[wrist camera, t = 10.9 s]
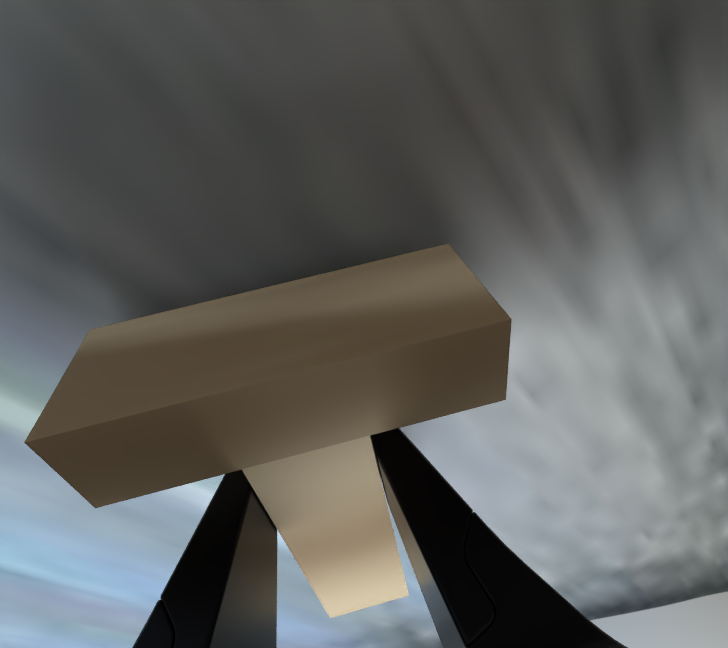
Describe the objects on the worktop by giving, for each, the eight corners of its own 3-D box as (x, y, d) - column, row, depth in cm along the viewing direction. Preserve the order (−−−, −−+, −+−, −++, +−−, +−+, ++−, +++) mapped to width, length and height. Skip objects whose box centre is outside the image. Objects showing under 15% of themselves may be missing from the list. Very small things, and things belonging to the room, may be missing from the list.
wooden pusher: (458, 486, 15) (493, 570, 13) (245, 544, 15) (241, 643, 12) (448, 243, 9) (511, 319, 7) (89, 329, 9) (24, 442, 6)
